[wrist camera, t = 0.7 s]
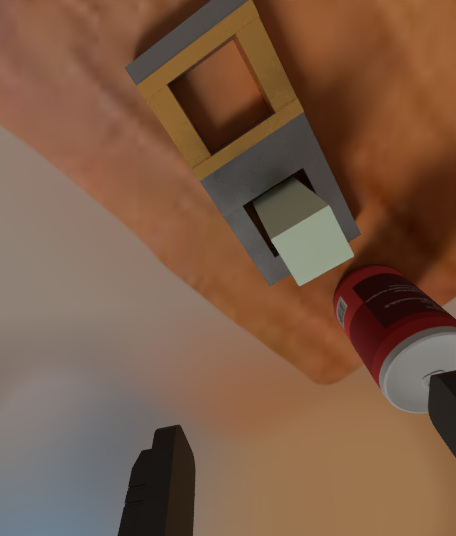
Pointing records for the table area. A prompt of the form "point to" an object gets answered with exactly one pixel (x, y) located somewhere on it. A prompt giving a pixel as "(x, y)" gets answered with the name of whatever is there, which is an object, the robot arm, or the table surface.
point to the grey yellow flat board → (248, 141)
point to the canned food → (396, 333)
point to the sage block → (302, 230)
